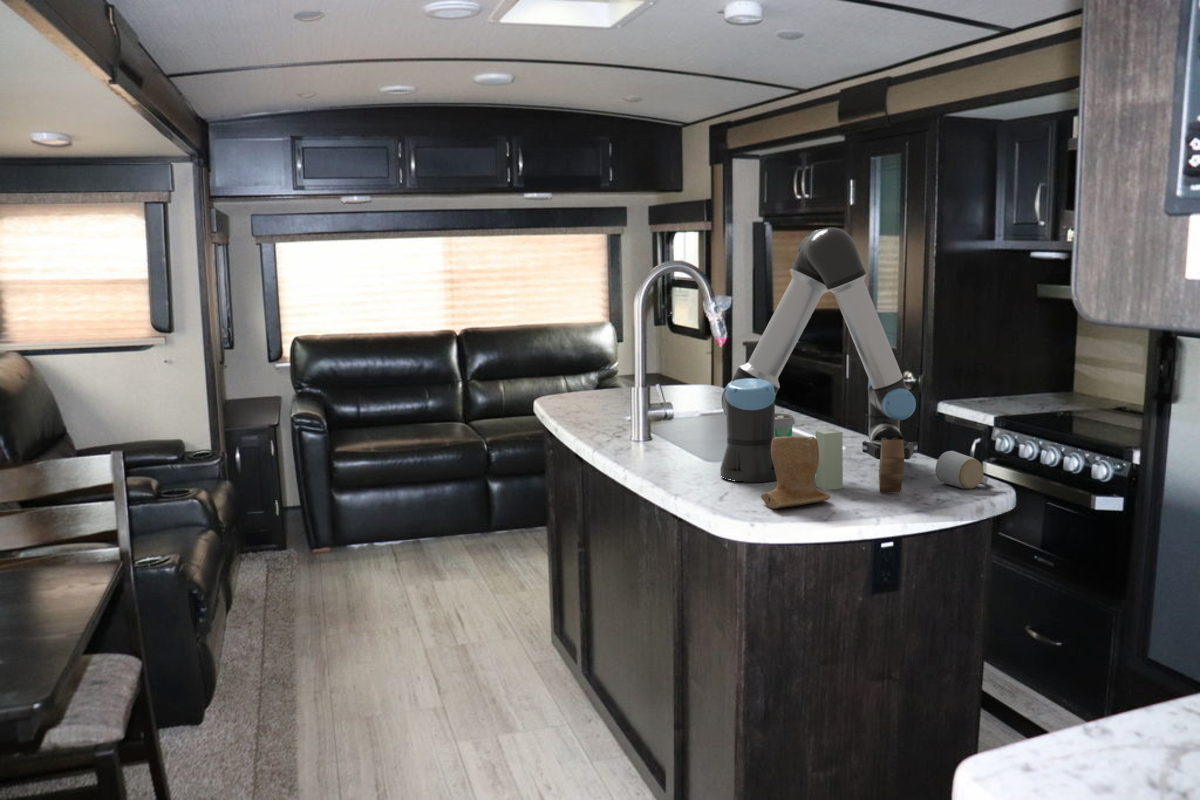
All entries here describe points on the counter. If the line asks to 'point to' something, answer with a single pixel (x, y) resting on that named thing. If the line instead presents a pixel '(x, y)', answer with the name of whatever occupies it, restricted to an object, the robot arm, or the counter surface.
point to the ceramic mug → (959, 470)
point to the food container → (783, 425)
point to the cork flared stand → (794, 472)
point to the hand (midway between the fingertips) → (895, 460)
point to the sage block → (830, 459)
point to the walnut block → (891, 466)
